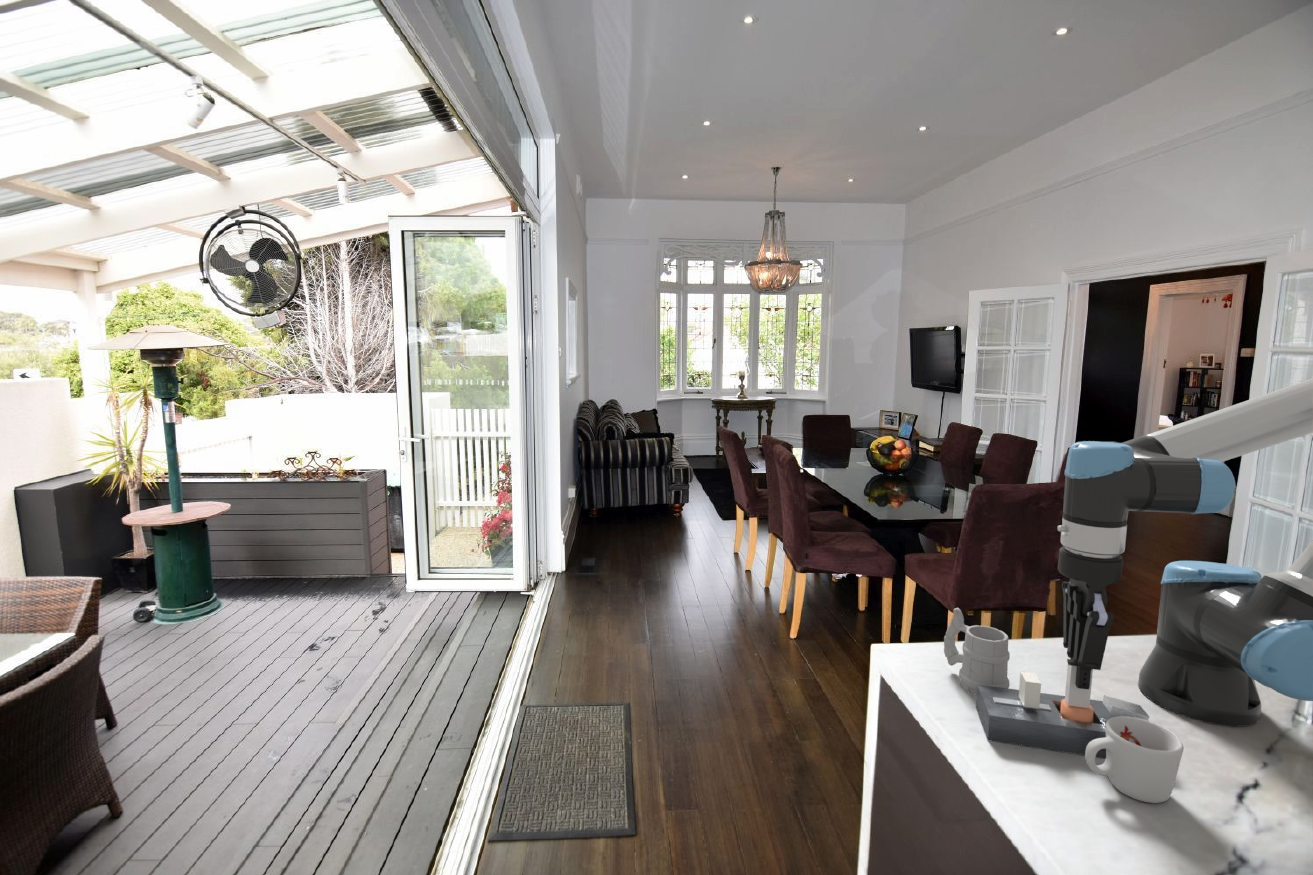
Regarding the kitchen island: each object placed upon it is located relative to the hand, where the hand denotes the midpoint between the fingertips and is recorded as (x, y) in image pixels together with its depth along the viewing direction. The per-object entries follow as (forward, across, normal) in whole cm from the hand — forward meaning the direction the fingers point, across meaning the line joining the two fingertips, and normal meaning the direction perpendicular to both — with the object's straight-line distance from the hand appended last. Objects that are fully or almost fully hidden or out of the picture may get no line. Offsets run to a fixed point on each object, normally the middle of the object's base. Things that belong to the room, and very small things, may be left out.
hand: (1076, 704), depth 92 cm
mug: (+6, -13, -11) cm, 18 cm away
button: (+5, 0, 0) cm, 5 cm away
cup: (+6, +11, +3) cm, 12 cm away
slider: (+1, 0, -6) cm, 6 cm away
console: (+5, 0, -2) cm, 6 cm away
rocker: (0, 0, +6) cm, 6 cm away
